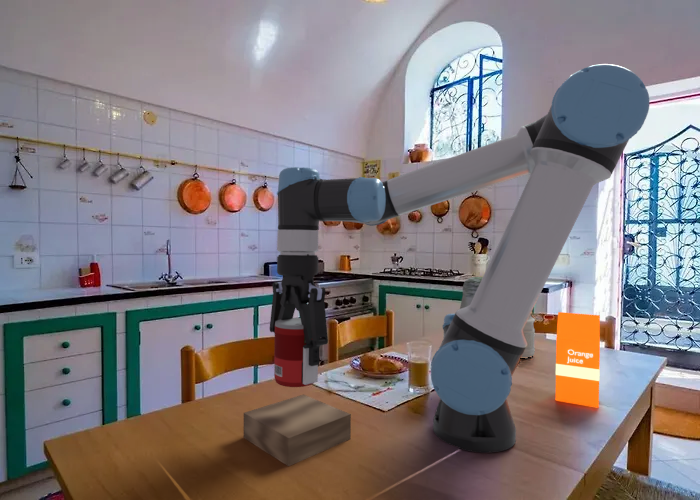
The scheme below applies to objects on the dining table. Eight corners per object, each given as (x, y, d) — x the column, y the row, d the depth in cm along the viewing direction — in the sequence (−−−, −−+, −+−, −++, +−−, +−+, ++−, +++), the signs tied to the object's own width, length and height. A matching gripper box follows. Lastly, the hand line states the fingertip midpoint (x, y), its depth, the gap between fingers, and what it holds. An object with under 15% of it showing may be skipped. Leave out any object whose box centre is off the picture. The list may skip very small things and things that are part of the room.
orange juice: (557, 390, 106) (558, 309, 105) (599, 397, 101) (600, 313, 101) (555, 400, 99) (556, 314, 98) (599, 408, 94) (600, 318, 94)
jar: (489, 348, 148) (489, 297, 147) (528, 350, 146) (529, 298, 146) (496, 358, 135) (497, 302, 134) (539, 360, 133) (540, 303, 133)
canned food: (310, 389, 74) (311, 326, 74) (267, 385, 76) (268, 324, 76) (322, 376, 82) (322, 318, 82) (282, 372, 84) (283, 316, 83)
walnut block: (350, 441, 79) (350, 414, 79) (288, 468, 69) (288, 438, 69) (303, 418, 89) (303, 394, 89) (243, 439, 79) (243, 412, 79)
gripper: (350, 255, 73) (348, 387, 74) (284, 251, 89) (283, 360, 89) (315, 255, 68) (313, 397, 69) (251, 252, 84) (250, 367, 84)
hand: (296, 376), depth 79 cm, fingers closed on canned food, 8 cm apart
